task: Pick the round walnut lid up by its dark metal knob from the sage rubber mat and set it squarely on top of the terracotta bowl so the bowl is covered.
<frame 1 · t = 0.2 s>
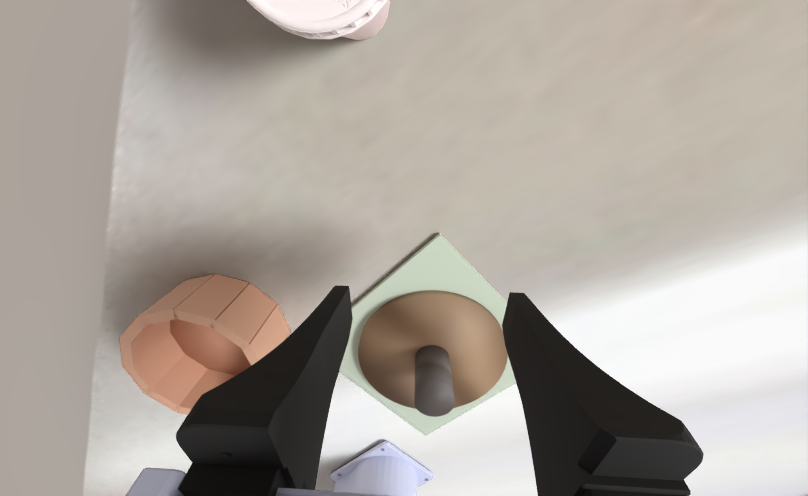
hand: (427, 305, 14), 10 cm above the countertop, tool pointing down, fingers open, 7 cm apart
lid: (431, 351, 28), resting on mat
smoothie: (358, 3, 18), on the countertop
mat: (431, 348, 29), on the countertop
bowl: (229, 327, 29), on the countertop
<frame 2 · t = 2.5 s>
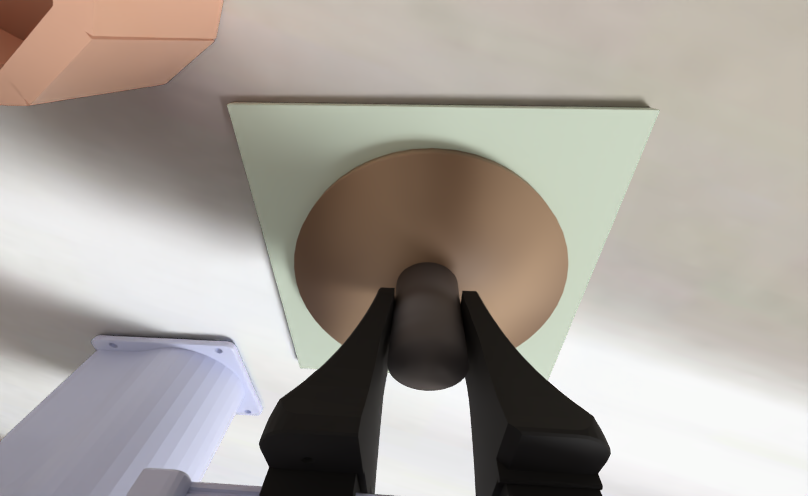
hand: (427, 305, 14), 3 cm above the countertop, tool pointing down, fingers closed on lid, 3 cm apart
lid: (426, 277, 16), resting on mat, touching gripper
mat: (427, 271, 16), on the countertop
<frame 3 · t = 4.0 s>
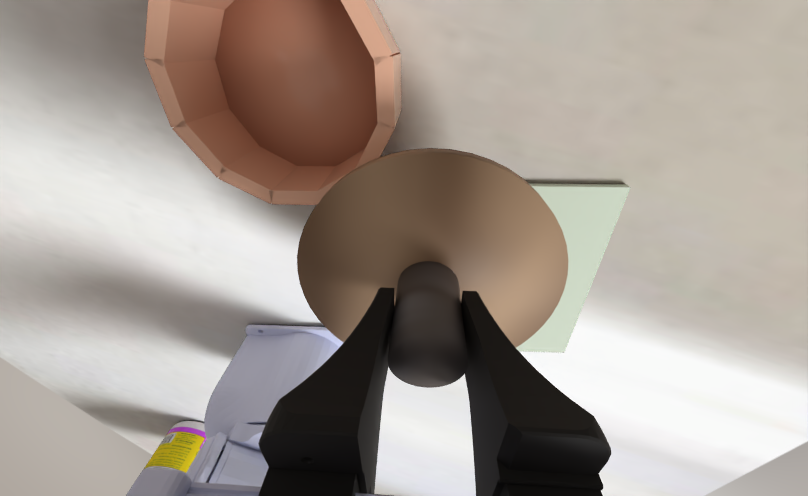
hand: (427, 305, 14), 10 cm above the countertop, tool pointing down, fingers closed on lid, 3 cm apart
supplement bottle: (200, 430, 42), on the countertop
lid: (428, 276, 16), point 7 cm above the countertop, touching gripper
mat: (486, 278, 25), on the countertop
bowl: (308, 82, 18), on the countertop
when the fingers open (8 cm above the countertop, at t = 5.7 s): lid stays where it is, resting on bowl.
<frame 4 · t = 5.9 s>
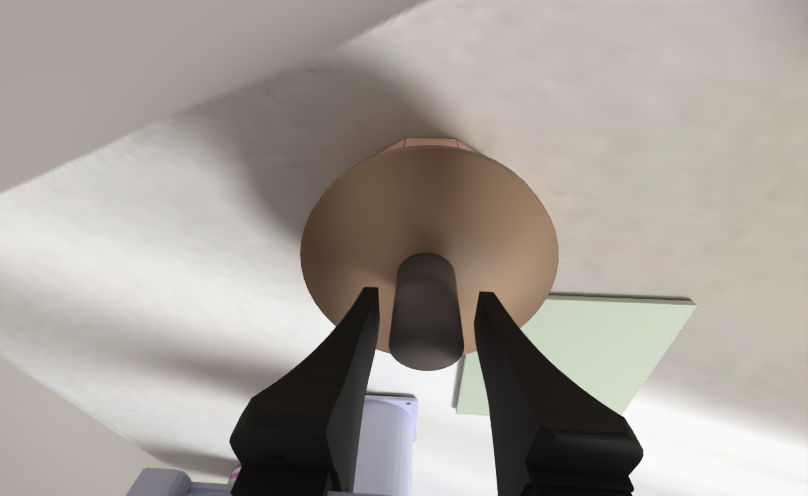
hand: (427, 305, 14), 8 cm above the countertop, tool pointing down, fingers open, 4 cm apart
lid: (425, 267, 17), point 5 cm above the countertop, touching bowl
mat: (554, 364, 28), on the countertop
bowl: (426, 221, 21), on the countertop
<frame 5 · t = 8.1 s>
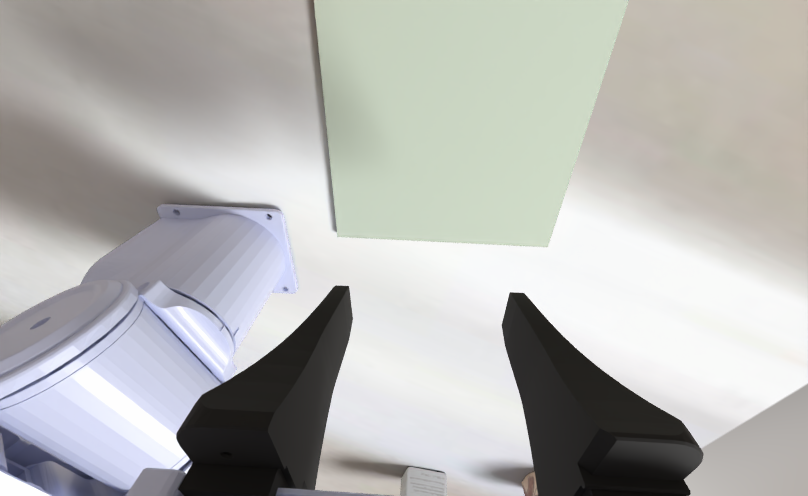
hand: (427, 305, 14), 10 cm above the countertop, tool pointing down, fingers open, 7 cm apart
skincare box: (422, 473, 47), on the countertop
figurine: (546, 478, 46), on the countertop
mat: (453, 131, 20), on the countertop
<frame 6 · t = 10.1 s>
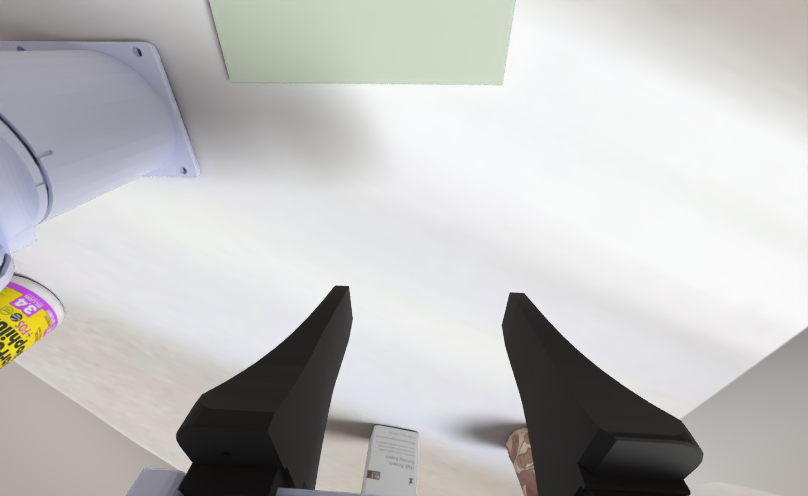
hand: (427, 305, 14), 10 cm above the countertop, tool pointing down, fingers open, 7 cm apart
supplement bottle: (33, 296, 31), on the countertop
skincare box: (392, 434, 41), on the countertop
figurine: (534, 438, 40), on the countertop
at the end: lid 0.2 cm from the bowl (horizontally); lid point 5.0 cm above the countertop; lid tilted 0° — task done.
